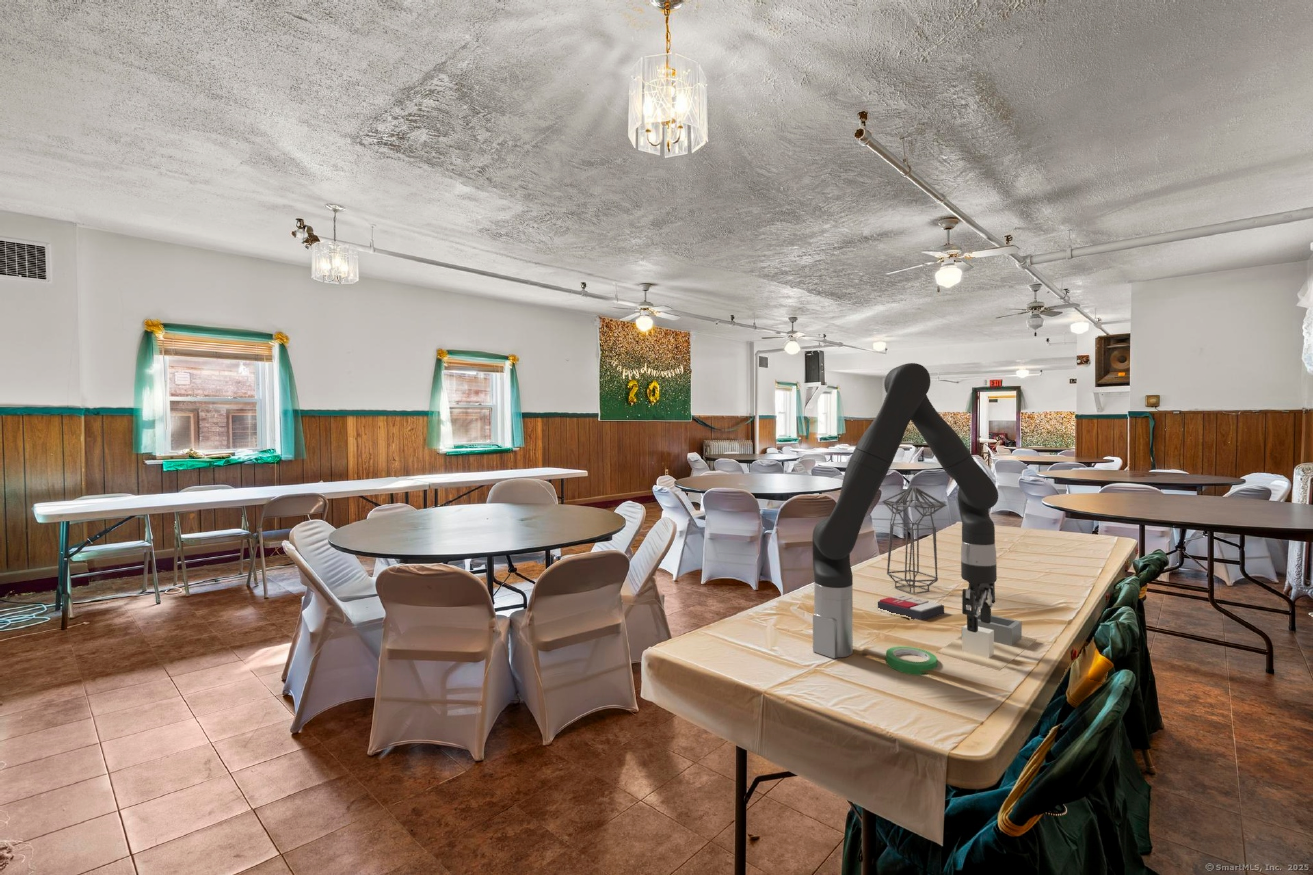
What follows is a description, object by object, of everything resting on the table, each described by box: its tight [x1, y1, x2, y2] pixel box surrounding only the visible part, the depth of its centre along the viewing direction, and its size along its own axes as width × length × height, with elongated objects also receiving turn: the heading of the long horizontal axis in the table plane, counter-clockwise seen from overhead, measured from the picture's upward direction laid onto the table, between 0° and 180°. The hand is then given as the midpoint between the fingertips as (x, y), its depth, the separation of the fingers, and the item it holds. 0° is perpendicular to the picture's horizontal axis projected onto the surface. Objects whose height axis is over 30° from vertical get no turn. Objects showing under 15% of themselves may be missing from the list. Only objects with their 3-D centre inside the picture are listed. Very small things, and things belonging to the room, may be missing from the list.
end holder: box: [978, 611, 1023, 646], centre depth 151 cm, size 7×10×4 cm
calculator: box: [877, 594, 945, 622], centre depth 173 cm, size 11×4×15 cm
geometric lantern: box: [881, 486, 947, 594], centre depth 196 cm, size 16×16×35 cm
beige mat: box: [935, 635, 1037, 672], centre depth 145 cm, size 27×14×1 cm, turn 131°
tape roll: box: [885, 646, 938, 676], centre depth 137 cm, size 11×11×3 cm
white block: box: [961, 623, 994, 658], centre depth 141 cm, size 3×6×6 cm, turn 41°
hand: (979, 626), depth 141 cm, fingers open, 8 cm apart
